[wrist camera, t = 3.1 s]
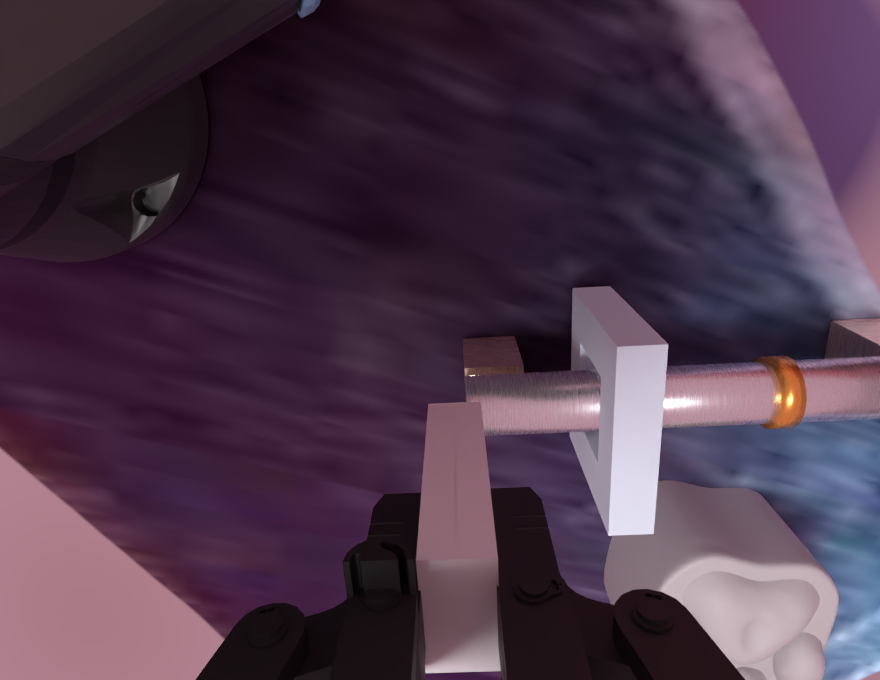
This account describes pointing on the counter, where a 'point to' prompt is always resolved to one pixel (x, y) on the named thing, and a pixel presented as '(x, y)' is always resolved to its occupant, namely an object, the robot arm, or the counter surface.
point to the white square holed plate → (620, 408)
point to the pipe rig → (685, 388)
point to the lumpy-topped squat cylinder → (733, 578)
